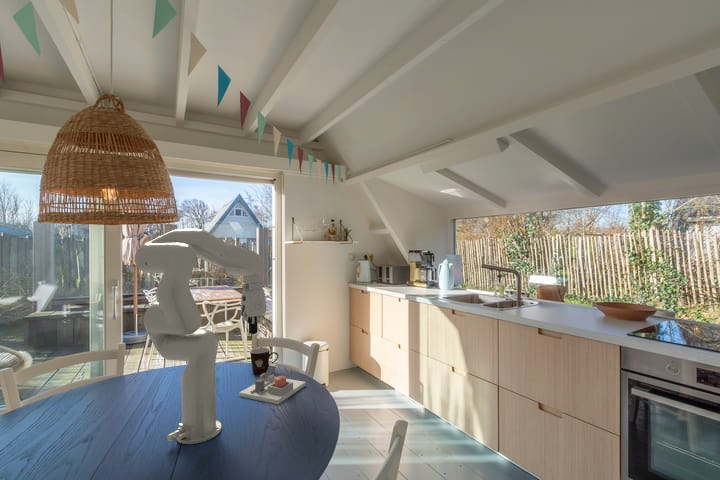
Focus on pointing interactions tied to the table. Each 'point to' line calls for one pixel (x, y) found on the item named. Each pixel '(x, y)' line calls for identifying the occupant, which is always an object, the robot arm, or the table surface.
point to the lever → (270, 370)
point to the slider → (259, 385)
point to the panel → (273, 390)
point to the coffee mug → (261, 360)
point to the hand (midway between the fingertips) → (253, 333)
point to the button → (280, 381)
